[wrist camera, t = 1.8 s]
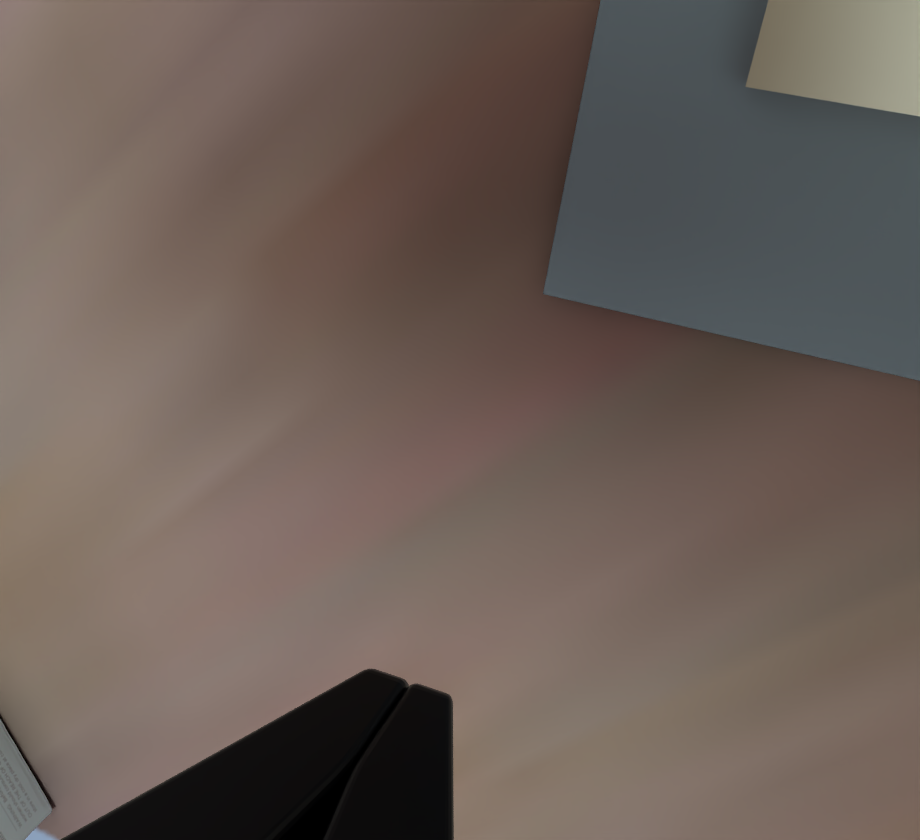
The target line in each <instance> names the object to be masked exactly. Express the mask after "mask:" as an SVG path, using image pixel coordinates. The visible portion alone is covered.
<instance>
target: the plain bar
mask: <svg viewBox="0 0 920 840" xmlns="http://www.w3.org/2000/svg"><path fill="white" fill-rule="evenodd" d="M745 87H749V88H755V89H761V90H767V91H773V92H779V93H785V94H791V95H796V96H802V97H808V98H814V99H820V100H826V101H832V102H838V103H844V104H850V105H855V106H861V107H867V108H873V109H879V110H885V111H891V112H897V113H903V114H908V115H914V116H920V0H768V4H767V7H766V11H765V15H764V19H763V23H762V26H761V30H760V34H759V38H758V41H757V45H756V49H755V53H754V56H753V60H752V64H751V68H750V71H749V75H748V79H747V83H746V86H745Z"/></svg>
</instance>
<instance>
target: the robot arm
mask: <svg viewBox="0 0 920 840" xmlns="http://www.w3.org/2000/svg"><path fill="white" fill-rule="evenodd" d="M61 840H454V825H453V701H452V698H451V696H450V695H449V694H447V693H444V692H441V691H438V690H435V689H432V688H429V687H426V686H423V685H420V684H412V685H410V686H409V685H408V683H407V682H406V680H404V679H403V678H400V677H397V676H394V675H391V674H388V673H385V672H382V671H379V670H376V669H367V670H364V671H362V672H360V673H358V674H356V675H354V676H353V677H351V678H349V679H347V680H345V681H344V682H342V683H340V684H338V685H337V686H335V687H333V688H331V689H329V690H328V691H326V692H324V693H322V694H320V695H319V696H317V697H315V698H313V699H311V700H310V701H308V702H306V703H304V704H302V705H301V706H299V707H297V708H295V709H294V710H292V711H290V712H288V713H286V714H285V715H283V716H281V717H279V718H277V719H276V720H274V721H272V722H270V723H268V724H267V725H265V726H263V727H261V728H260V729H258V730H256V731H254V732H252V733H251V734H249V735H247V736H245V737H243V738H242V739H240V740H238V741H236V742H234V743H233V744H231V745H229V746H227V747H225V748H224V749H222V750H220V751H218V752H217V753H215V754H213V755H211V756H209V757H208V758H206V759H204V760H202V761H200V762H199V763H197V764H195V765H193V766H191V767H190V768H188V769H186V770H184V771H183V772H181V773H179V774H177V775H175V776H174V777H172V778H170V779H168V780H166V781H165V782H163V783H161V784H159V785H157V786H156V787H154V788H152V789H150V790H148V791H147V792H145V793H143V794H141V795H140V796H138V797H136V798H134V799H132V800H131V801H129V802H127V803H125V804H123V805H122V806H120V807H118V808H116V809H114V810H113V811H111V812H109V813H107V814H106V815H104V816H102V817H100V818H98V819H97V820H95V821H93V822H91V823H89V824H88V825H86V826H84V827H82V828H80V829H79V830H77V831H75V832H73V833H71V834H70V835H68V836H66V837H64V838H63V839H61Z"/></svg>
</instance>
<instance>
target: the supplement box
mask: <svg viewBox="0 0 920 840" xmlns="http://www.w3.org/2000/svg"><path fill="white" fill-rule="evenodd" d="M51 812H52V807H51V805H50V804H49V802H48V800H47V798H46V796H45V794H44V793H43V791H42V790H41V788H40V786H39V784H38V782H37V781H36V779H35V777H34V775H33V774H32V772H31V770H30V769H29V767H28V765H27V764H26V762H25V760H24V759H23V757H22V755H21V753H20V752H19V750H18V748H17V746H16V745H15V743H14V741H13V740H12V738H11V737H10V735H9V734H8V732H7V730H6V728H5V726H4V724H3V723H2V721H1V719H0V840H25V839H26V838H27V836H28V835H29V834H30V833H31V832H32V831H33V830H34V829H35V828H36V827H37V826H38V825H39V824H40V823H41V822H42V821H43V820H44V819H45V818H46V817H47V816H48V815H49V814H51Z"/></svg>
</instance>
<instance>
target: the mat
mask: <svg viewBox="0 0 920 840" xmlns="http://www.w3.org/2000/svg"><path fill="white" fill-rule="evenodd" d="M767 4H768V0H601V1H600V7H599V12H598V17H597V22H596V27H595V32H594V37H593V42H592V47H591V52H590V58H589V63H588V68H587V73H586V78H585V83H584V88H583V93H582V98H581V103H580V108H579V114H578V119H577V124H576V129H575V134H574V139H573V144H572V149H571V154H570V159H569V164H568V170H567V175H566V180H565V185H564V190H563V195H562V200H561V205H560V210H559V215H558V221H557V226H556V231H555V236H554V241H553V246H552V251H551V256H550V261H549V266H548V271H547V277H546V282H545V287H544V292H543V294H545V295H550V296H554V297H558V298H563V299H567V300H571V301H576V302H580V303H584V304H589V305H593V306H597V307H602V308H606V309H610V310H615V311H619V312H623V313H628V314H632V315H636V316H641V317H645V318H650V319H654V320H658V321H663V322H667V323H671V324H676V325H680V326H684V327H689V328H693V329H697V330H702V331H706V332H710V333H715V334H719V335H723V336H728V337H732V338H736V339H741V340H745V341H749V342H754V343H758V344H762V345H767V346H771V347H775V348H780V349H784V350H788V351H793V352H797V353H801V354H806V355H810V356H814V357H819V358H823V359H828V360H832V361H836V362H841V363H845V364H849V365H854V366H858V367H862V368H867V369H871V370H875V371H880V372H884V373H888V374H893V375H897V376H901V377H906V378H910V379H914V380H919V381H920V116H914V115H908V114H903V113H897V112H891V111H885V110H879V109H873V108H867V107H861V106H855V105H850V104H844V103H838V102H832V101H826V100H820V99H814V98H808V97H802V96H796V95H791V94H785V93H779V92H773V91H767V90H761V89H755V88H749V87H745V86H746V83H747V79H748V75H749V71H750V68H751V64H752V60H753V56H754V53H755V49H756V45H757V41H758V38H759V34H760V30H761V26H762V23H763V19H764V15H765V11H766V7H767Z"/></svg>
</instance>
